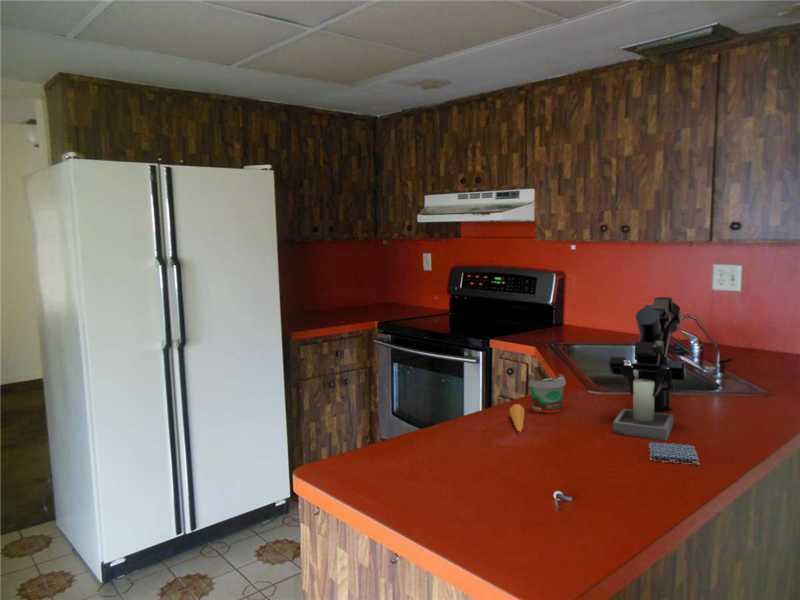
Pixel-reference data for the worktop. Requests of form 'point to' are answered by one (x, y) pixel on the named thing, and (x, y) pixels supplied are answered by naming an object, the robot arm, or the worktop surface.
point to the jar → (643, 399)
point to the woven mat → (673, 453)
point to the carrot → (517, 416)
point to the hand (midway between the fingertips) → (642, 395)
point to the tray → (643, 425)
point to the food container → (547, 393)
